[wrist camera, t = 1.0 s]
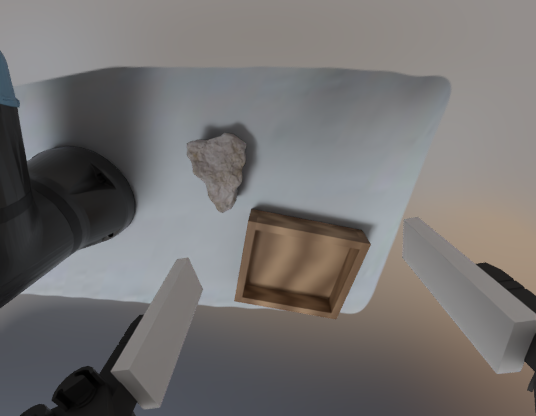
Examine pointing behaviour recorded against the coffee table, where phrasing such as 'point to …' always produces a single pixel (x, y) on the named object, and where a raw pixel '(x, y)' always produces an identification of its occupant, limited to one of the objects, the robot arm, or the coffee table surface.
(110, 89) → the coffee table surface
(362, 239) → the tray
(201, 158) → the stone
